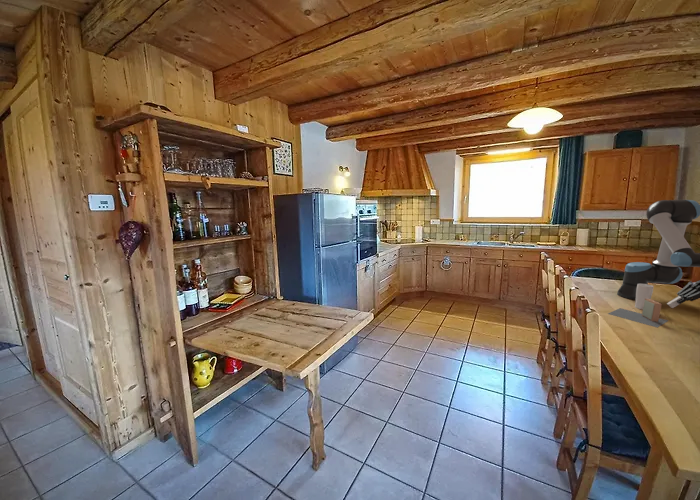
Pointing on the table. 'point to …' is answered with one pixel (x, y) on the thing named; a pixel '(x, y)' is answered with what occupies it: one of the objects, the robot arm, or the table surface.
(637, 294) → the white rectangular block
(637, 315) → the mat
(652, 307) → the tile
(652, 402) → the table surface
